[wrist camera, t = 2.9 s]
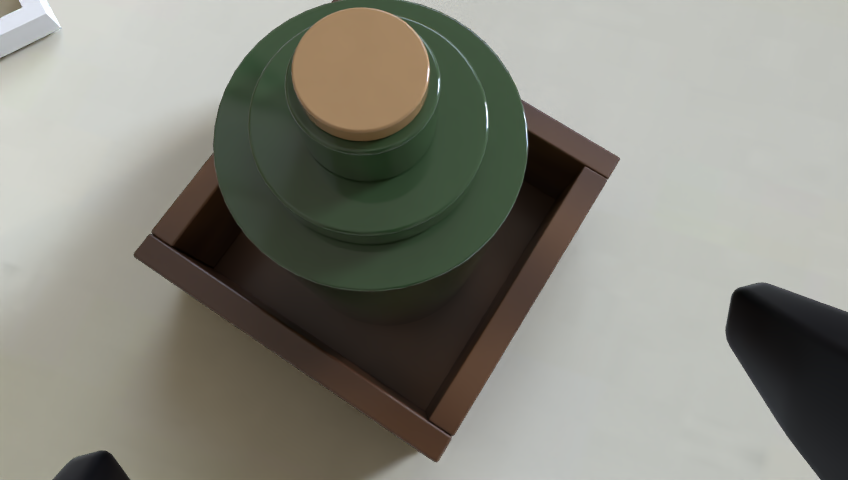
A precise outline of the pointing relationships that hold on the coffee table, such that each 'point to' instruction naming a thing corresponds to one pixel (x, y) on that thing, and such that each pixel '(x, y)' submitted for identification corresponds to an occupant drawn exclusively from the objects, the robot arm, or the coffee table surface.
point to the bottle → (372, 154)
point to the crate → (401, 344)
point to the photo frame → (26, 25)
